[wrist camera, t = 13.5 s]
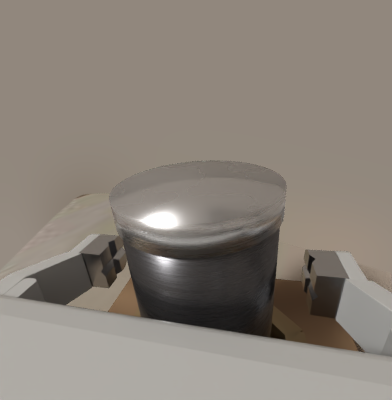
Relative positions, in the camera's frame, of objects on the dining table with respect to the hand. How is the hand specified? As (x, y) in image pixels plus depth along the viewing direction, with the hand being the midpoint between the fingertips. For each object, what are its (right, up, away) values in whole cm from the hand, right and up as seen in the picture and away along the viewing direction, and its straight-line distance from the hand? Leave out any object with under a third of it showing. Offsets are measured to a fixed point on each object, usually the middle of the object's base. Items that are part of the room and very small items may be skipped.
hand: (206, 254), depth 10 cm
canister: (0, -7, +2) cm, 7 cm away
